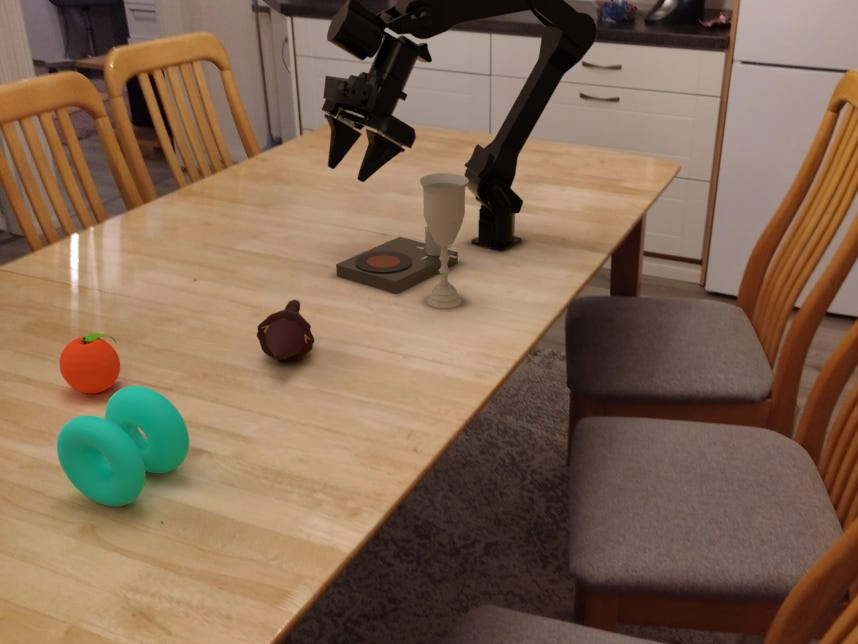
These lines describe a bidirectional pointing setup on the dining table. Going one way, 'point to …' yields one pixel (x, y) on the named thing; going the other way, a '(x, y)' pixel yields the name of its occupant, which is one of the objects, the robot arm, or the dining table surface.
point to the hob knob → (431, 244)
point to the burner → (383, 262)
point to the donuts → (123, 445)
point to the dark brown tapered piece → (286, 334)
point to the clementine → (90, 364)
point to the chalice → (444, 226)
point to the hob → (400, 280)
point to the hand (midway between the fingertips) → (345, 174)
